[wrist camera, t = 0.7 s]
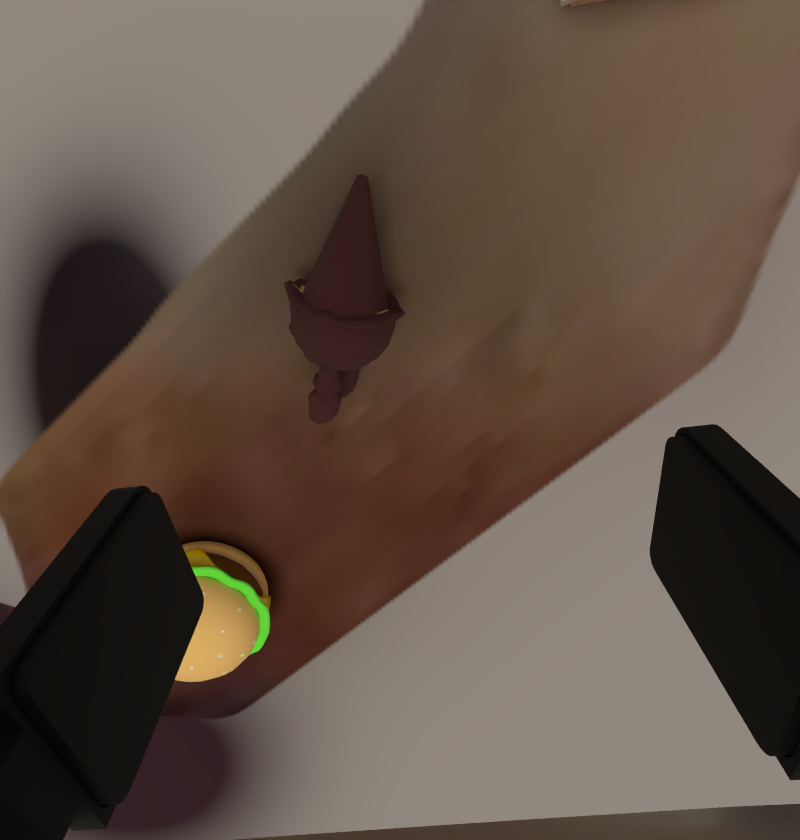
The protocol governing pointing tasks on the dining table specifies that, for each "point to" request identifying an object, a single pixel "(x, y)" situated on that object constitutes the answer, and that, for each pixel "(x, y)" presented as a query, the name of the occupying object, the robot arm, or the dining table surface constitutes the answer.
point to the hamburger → (225, 611)
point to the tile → (578, 2)
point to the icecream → (343, 305)
